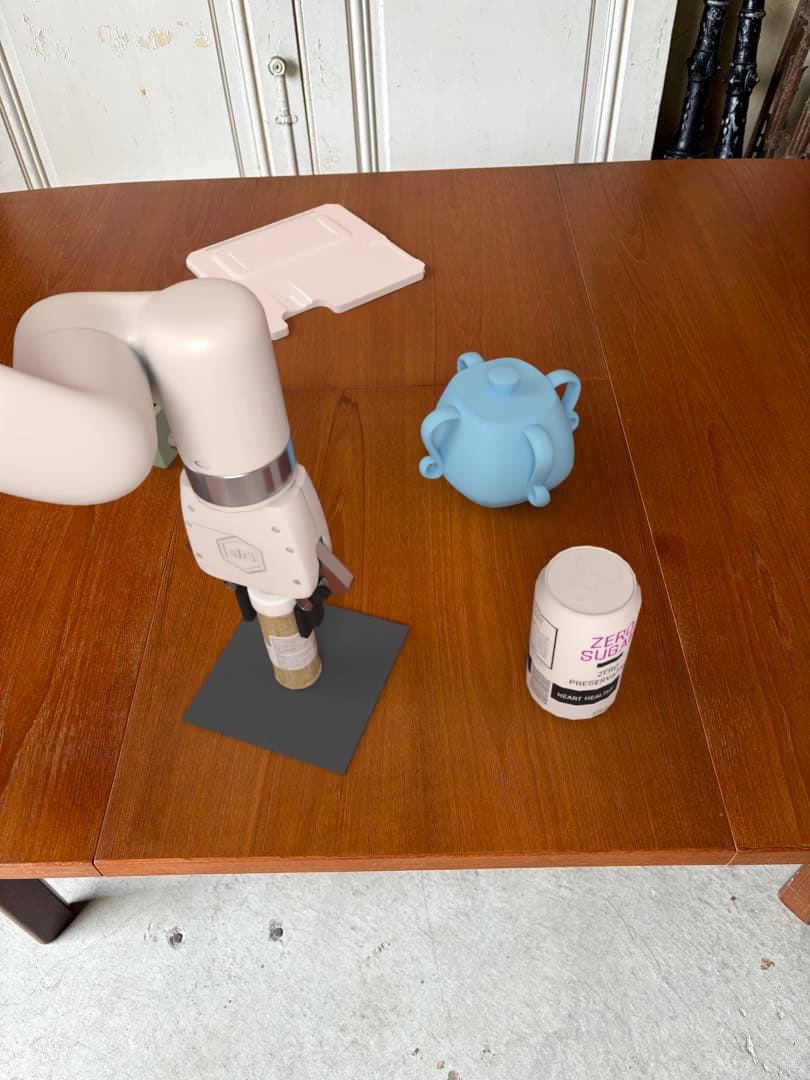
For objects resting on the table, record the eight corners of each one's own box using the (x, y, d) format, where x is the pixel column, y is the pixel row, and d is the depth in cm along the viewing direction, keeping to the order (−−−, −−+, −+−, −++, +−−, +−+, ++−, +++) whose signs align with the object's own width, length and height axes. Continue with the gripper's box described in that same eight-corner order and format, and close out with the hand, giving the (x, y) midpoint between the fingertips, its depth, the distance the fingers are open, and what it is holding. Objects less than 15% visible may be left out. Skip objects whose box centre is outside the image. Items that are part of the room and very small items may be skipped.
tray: (431, 275, 121) (430, 266, 120) (265, 344, 112) (263, 334, 111) (335, 207, 137) (334, 198, 136) (183, 263, 128) (180, 254, 127)
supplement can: (552, 632, 78) (567, 525, 66) (632, 673, 74) (662, 568, 63) (508, 693, 73) (516, 591, 62) (591, 740, 70) (615, 640, 59)
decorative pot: (402, 493, 91) (394, 397, 81) (465, 409, 100) (465, 313, 90) (538, 541, 86) (548, 444, 75) (591, 447, 95) (607, 350, 84)
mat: (182, 720, 73) (181, 718, 73) (263, 588, 83) (263, 586, 83) (344, 775, 69) (344, 773, 69) (410, 629, 79) (409, 626, 79)
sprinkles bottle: (277, 650, 77) (250, 559, 67) (325, 649, 77) (304, 558, 67) (272, 692, 74) (242, 603, 64) (321, 691, 74) (299, 602, 64)
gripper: (106, 469, 56) (176, 625, 69) (329, 525, 51) (357, 680, 65) (164, 403, 60) (219, 561, 74) (374, 448, 56) (391, 608, 69)
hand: (283, 615), depth 69 cm, fingers closed on sprinkles bottle, 4 cm apart
